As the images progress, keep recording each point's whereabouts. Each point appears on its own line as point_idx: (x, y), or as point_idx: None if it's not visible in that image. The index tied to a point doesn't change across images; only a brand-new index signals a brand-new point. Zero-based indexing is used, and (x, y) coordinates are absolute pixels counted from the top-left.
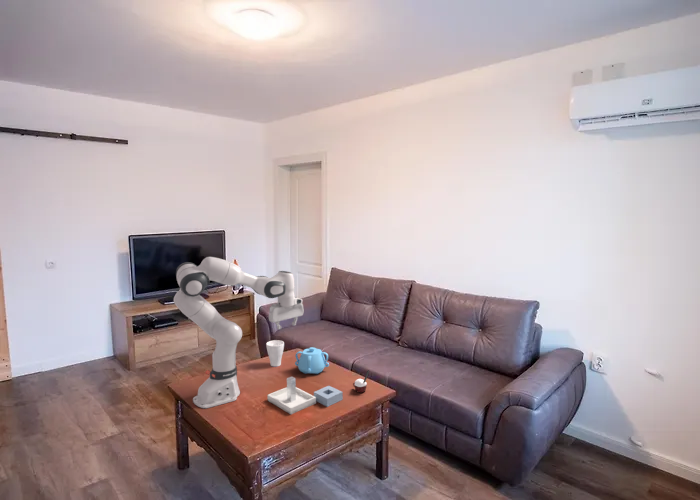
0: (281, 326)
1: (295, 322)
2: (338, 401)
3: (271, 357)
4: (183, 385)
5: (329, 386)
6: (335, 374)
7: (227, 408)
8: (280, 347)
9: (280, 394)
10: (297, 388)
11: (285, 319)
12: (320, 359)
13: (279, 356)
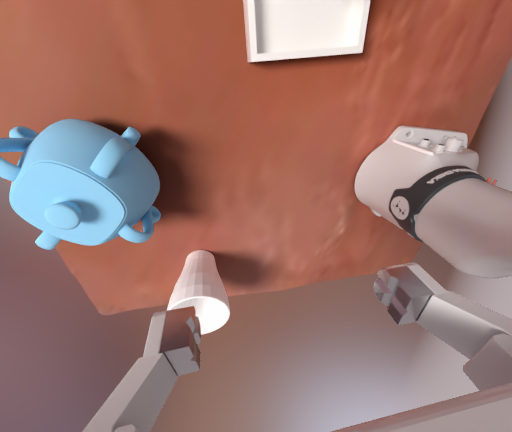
0: (404, 290)
1: (157, 348)
2: None
3: (217, 273)
4: (399, 257)
5: None
6: (6, 71)
7: (441, 95)
8: (190, 290)
9: (307, 48)
10: (252, 7)
11: (443, 412)
12: (45, 139)
13: (194, 268)
